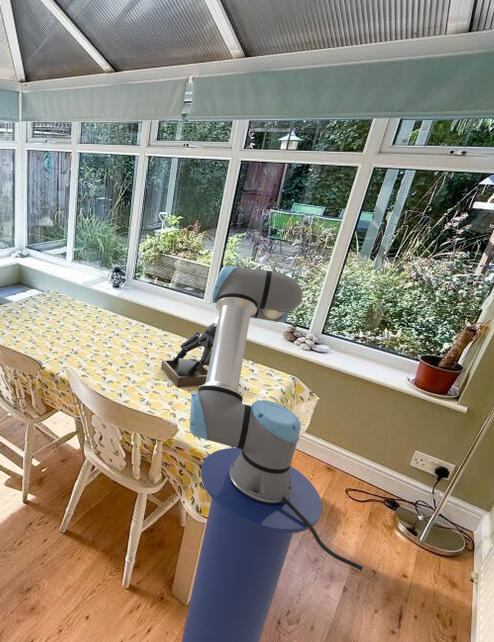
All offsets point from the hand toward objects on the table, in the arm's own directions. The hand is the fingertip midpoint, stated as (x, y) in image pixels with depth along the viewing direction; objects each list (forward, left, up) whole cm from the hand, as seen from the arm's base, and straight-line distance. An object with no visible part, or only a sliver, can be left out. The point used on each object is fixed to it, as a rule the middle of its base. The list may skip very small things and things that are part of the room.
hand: (181, 368), depth 172 cm
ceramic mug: (+2, -3, -4) cm, 5 cm away
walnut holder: (+1, -3, -5) cm, 6 cm away
